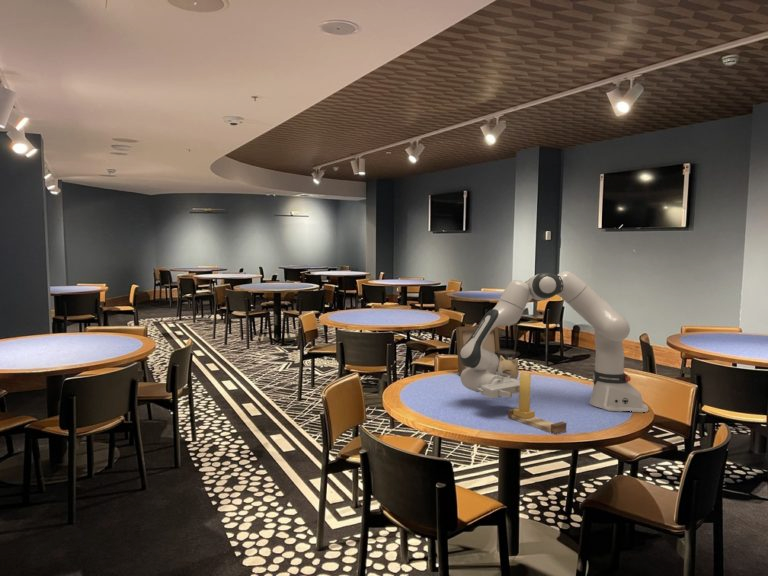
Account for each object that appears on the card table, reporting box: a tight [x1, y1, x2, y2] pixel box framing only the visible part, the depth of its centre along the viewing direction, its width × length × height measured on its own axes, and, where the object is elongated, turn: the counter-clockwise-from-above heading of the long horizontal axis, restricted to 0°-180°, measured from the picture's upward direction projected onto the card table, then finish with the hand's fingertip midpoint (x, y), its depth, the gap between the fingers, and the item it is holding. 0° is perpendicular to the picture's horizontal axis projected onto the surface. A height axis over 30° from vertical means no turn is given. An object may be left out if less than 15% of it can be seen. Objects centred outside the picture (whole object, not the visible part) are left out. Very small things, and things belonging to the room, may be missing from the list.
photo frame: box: [455, 325, 501, 376], centre depth 280 cm, size 15×22×25 cm
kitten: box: [496, 355, 520, 380], centre depth 250 cm, size 15×10×15 cm
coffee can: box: [495, 349, 517, 375], centre depth 268 cm, size 10×10×14 cm
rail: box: [507, 407, 567, 435], centre depth 199 cm, size 22×6×3 cm, turn 35°
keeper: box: [513, 372, 536, 419], centre depth 203 cm, size 6×5×16 cm
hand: (519, 393), depth 205 cm, fingers open, 8 cm apart
